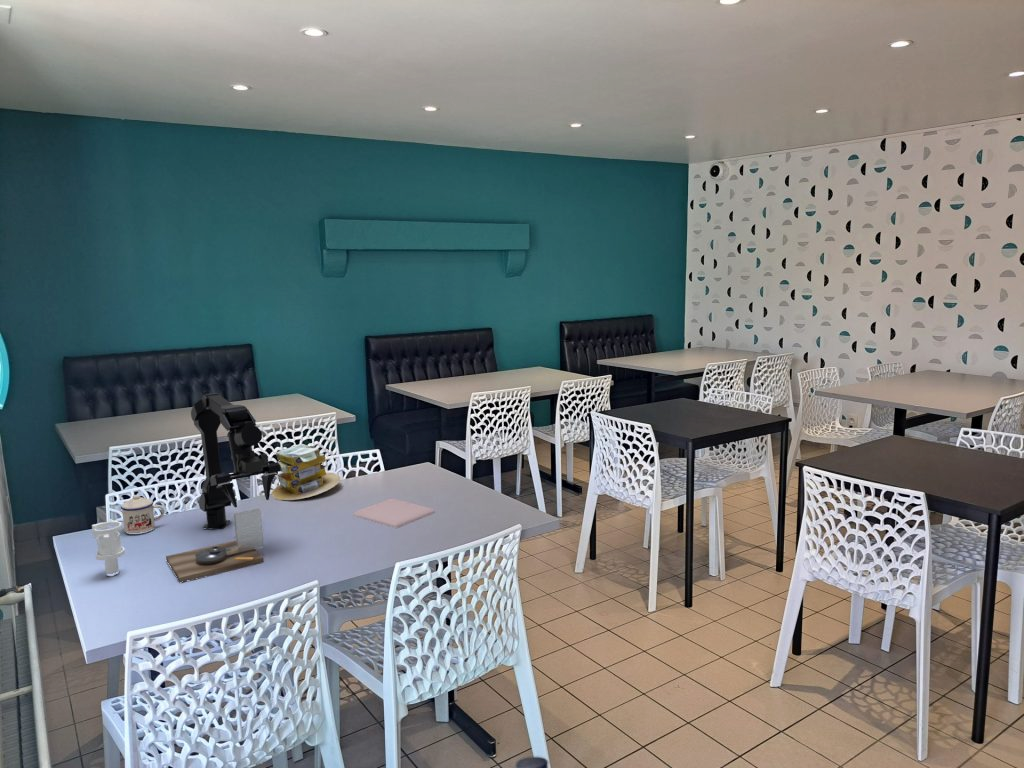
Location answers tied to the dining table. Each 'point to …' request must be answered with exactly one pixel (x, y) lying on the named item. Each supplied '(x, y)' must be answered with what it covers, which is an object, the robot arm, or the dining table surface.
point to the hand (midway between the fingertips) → (252, 503)
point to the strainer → (108, 544)
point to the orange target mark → (244, 558)
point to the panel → (394, 512)
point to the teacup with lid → (139, 514)
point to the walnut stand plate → (190, 569)
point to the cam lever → (237, 538)
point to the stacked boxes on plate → (302, 473)
